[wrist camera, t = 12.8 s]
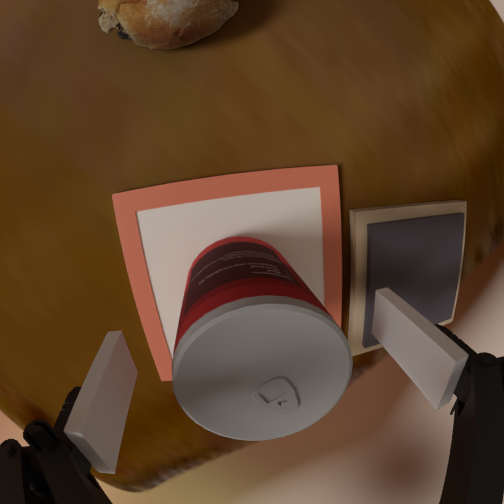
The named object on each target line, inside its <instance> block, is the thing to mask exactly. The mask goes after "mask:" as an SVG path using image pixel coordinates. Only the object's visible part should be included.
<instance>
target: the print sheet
mask: <svg viewBox="0 0 504 504" xmlns="http://www.w3.org/2000/svg"><path fill="white" fill-rule="evenodd" d="M112 198H113V204H114V210H115V215H116V221H117V226H118V231H119V236H120V241H121V245H122V250H123V254H124V259H125V263H126V267H127V271H128V275H129V279H130V283H131V287H132V291H133V295H134V298H135V302H136V305H137V309H138V312H139V316H140V319H141V322H142V325H143V329H144V332H145V335H146V338H147V341H148V344H149V347H150V350H151V353H152V356H153V359H154V362H155V364H156V367H157V370H158V373H159V375H160V378H161V381H171V380H172V361H173V351H174V345H175V340H176V334H177V328H178V323H179V317H180V312H181V307H182V301H183V296H184V291H185V286H186V281H187V277H188V272H189V270H190V267H191V265H192V263H193V261H194V260H195V259H196V257H197V256H198V255H199V253H201V252H202V251H203V250H204V249H205V248H206V247H207V246H209V245H211V244H213V243H214V242H216V241H219V240H222V239H225V238H228V237H237V236H242V237H252V238H255V239H259V240H262V241H264V242H266V243H267V244H269V245H271V246H273V247H274V248H275V249H276V250H277V251H279V252H280V253H281V255H282V256H283V257H284V258H285V259H286V261H287V262H288V263H289V264H290V265H291V267H292V268H293V269H294V270H295V271H296V273H297V274H298V275H299V276H300V278H301V279H302V280H303V281H304V282H305V284H306V285H307V286H308V287H309V289H310V290H311V291H312V292H313V293H314V295H315V296H316V297H317V298H318V300H319V301H320V302H321V303H322V305H323V306H324V307H325V308H326V310H327V311H328V312H329V313H330V315H331V316H332V317H333V319H334V320H335V322H336V323H337V324H338V325H339V327H340V328H341V313H342V236H341V211H340V193H339V178H338V166H337V165H324V166H309V167H296V168H284V169H274V170H264V171H254V172H245V173H237V174H229V175H221V176H214V177H207V178H200V179H193V180H187V181H180V182H174V183H168V184H163V185H157V186H151V187H146V188H141V189H136V190H130V191H125V192H121V193H116V194H112Z"/></svg>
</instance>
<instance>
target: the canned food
mask: <svg viewBox="0 0 504 504" xmlns="http://www.w3.org/2000/svg"><path fill="white" fill-rule="evenodd" d="M352 364H353V361H352V354H351V349H350V346H349V344H348V342H347V339H346V337H345V336H344V334H343V332H342V329H341V328H340V327H339V325H338V324H337V323H336V322H335V320H334V319H333V317H332V316H331V315H330V313H329V312H328V311H327V310H326V308H325V307H324V306H323V305H322V303H321V302H320V301H319V300H318V298H317V297H316V296H315V295H314V293H313V292H312V291H311V290H310V289H309V287H308V286H307V285H306V284H305V282H304V281H303V280H302V279H301V278H300V276H299V275H298V274H297V273H296V271H295V270H294V269H293V268H292V267H291V265H290V264H289V263H288V262H287V261H286V259H285V258H284V257H283V256H282V255H281V253H280V252H279V251H277V250H276V249H275V248H274V247H273V246H271V245H269V244H267V243H266V242H264V241H262V240H259V239H255V238H252V237H242V236H237V237H228V238H225V239H222V240H219V241H216V242H214V243H213V244H211V245H209V246H207V247H206V248H205V249H204V250H203V251H202V252H201V253H199V255H198V256H197V257H196V259H195V260H194V261H193V263H192V265H191V267H190V270H189V272H188V277H187V281H186V286H185V291H184V296H183V301H182V307H181V312H180V317H179V323H178V328H177V334H176V340H175V345H174V351H173V361H172V382H173V390H174V393H175V396H176V398H177V401H178V403H179V404H180V406H181V407H182V409H183V410H184V411H185V413H186V414H187V415H188V416H189V417H190V418H191V419H192V420H194V421H195V422H196V423H197V424H199V425H200V426H202V427H204V428H205V429H207V430H209V431H211V432H214V433H216V434H219V435H221V436H225V437H229V438H233V439H239V440H250V441H253V440H269V439H274V438H280V437H283V436H287V435H290V434H293V433H296V432H298V431H300V430H302V429H305V428H307V427H309V426H311V425H312V424H314V423H315V422H317V421H318V420H320V419H321V418H322V417H324V416H325V415H326V414H327V413H328V412H329V411H330V410H332V409H333V407H334V406H335V405H336V404H337V403H338V401H339V400H340V399H341V397H342V396H343V394H344V392H345V390H346V389H347V386H348V384H349V381H350V378H351V374H352Z"/></svg>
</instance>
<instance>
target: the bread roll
mask: <svg viewBox="0 0 504 504" xmlns="http://www.w3.org/2000/svg"><path fill="white" fill-rule="evenodd" d="M238 5H239V2H235V1H234V0H99V5H98V9H99V10H101V11H102V13H101V14H100V18H99V24H100V25H101V28H102V31H105V32H106V33H108V34H110V33H109V32H110V31H112V30H113V27H115V28H116V29H117V30H118V36H119V38H121V39H132V40H133V41H134V43H135V44H136V45H139V46H142V47H148V48H150V49H152V50H153V49H178V48H180V47H182V46H186V45H188V44H193V43H194V42H196V41H197V40H199V39H201V38H204V37H206V36H208V35H210V34H212V33H214V32H216V31H217V30H219V29H220V28H221V26H222V25H223V24H224V23H225V22H226V21H227V20H228V19H229V18H230V17H233V16H234V14H235V13H236V11H237V10H238Z"/></svg>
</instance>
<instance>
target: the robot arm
mask: <svg viewBox="0 0 504 504" xmlns="http://www.w3.org/2000/svg"><path fill="white" fill-rule="evenodd" d="M372 334H373V335H374V337H375V338H376V339H377V340H378V341H379V342H380V343H381V345H382V346H383V347H384V348H385V349H386V350H387V352H388V353H389V354H390V355H391V356H392V357H393V358H394V360H395V361H396V362H397V363H398V364H399V365H400V367H401V368H402V369H403V370H404V371H405V373H406V374H407V375H408V376H409V377H410V378H411V380H412V381H413V382H414V383H415V384H416V386H417V387H418V388H419V389H420V390H421V392H422V393H423V394H424V395H425V397H426V398H427V399H428V400H429V401H430V403H431V404H432V405H433V406H434V407H435V409H436V410H437V409H439V408H441V407H442V406H445V405H446V404H448V403H449V402H450V400H451V398H452V395H453V393H454V394H455V395H456V397H457V400H456V402H455V404H454V406H453V408H452V410H451V413H450V415H452V414H453V412H454V410H455V414H454V425H453V434H452V442H451V449H450V455H449V461H448V467H447V472H446V477H445V482H444V486H443V490H442V495H441V499H440V502H439V504H502V502H503V494H504V356H503V357H499V358H496V357H495V356H494V355H492V354H490V353H486V352H484V353H479V354H477V353H476V352H475V351H474V350H472V349H471V348H470V347H469V346H468V345H467V344H465V343H464V342H463V341H462V340H461V339H458V337H457V336H456V335H453V333H452V332H451V331H450V330H449V329H447V328H446V327H444V326H441V325H439V324H435V325H433V324H432V323H431V322H430V321H429V320H427V319H426V318H425V317H424V316H423V315H421V314H420V313H419V312H418V311H416V310H415V309H414V308H413V307H411V306H410V305H409V304H408V303H407V302H405V301H404V300H403V299H402V298H400V297H399V296H398V295H397V294H395V293H394V292H393V291H391V290H390V289H389V288H388V287H387V288H383V289H378V290H376V293H375V305H374V315H373V324H372ZM137 373H138V372H137V370H136V367H135V365H134V362H133V360H132V357H131V355H130V352H129V350H128V347H127V345H126V342H125V339H124V337H123V334H122V331H112V332H108V333H107V335H106V337H105V339H104V341H103V343H102V345H101V347H100V349H99V351H98V353H97V355H96V357H95V359H94V361H93V364H92V366H91V368H90V370H89V372H88V374H87V377H86V379H85V381H84V383H83V385H82V387H75V388H74V389H73V390H72V391H71V392H70V393H69V394H68V396H67V398H66V400H65V402H64V403H65V404H63V407H62V411H60V413H59V416H58V418H57V420H56V423H55V425H54V427H53V428H52V427H51V426H50V424H49V423H48V422H47V421H45V420H42V419H37V420H34V421H32V422H30V423H29V424H28V425H27V426H26V427H25V429H24V432H23V438H24V439H25V440H26V442H27V443H28V444H29V445H30V446H26V447H22V446H21V445H20V444H19V443H18V441H17V440H14V439H8V440H5V441H4V442H3V443H2V444H1V445H0V504H112V503H111V501H110V500H109V498H108V497H107V495H106V494H105V493H104V491H103V490H102V488H101V487H100V485H99V484H98V482H97V481H96V479H95V477H94V476H93V475H92V474H91V473H90V469H91V465H92V466H93V467H94V468H95V469H96V470H97V471H98V472H102V473H111V474H115V470H116V464H117V459H118V454H119V449H120V444H121V439H122V435H123V430H124V426H125V421H126V417H127V413H128V408H129V404H130V400H131V396H132V392H133V388H134V385H135V381H136V377H137Z"/></svg>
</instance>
